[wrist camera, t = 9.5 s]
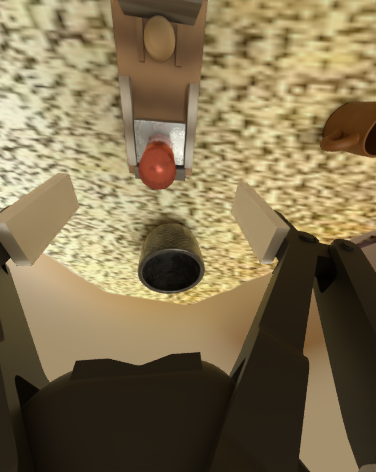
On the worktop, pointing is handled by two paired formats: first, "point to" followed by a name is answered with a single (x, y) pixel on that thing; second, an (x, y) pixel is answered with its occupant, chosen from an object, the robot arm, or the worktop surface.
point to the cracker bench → (159, 70)
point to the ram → (159, 150)
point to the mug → (352, 129)
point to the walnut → (159, 38)
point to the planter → (170, 259)
